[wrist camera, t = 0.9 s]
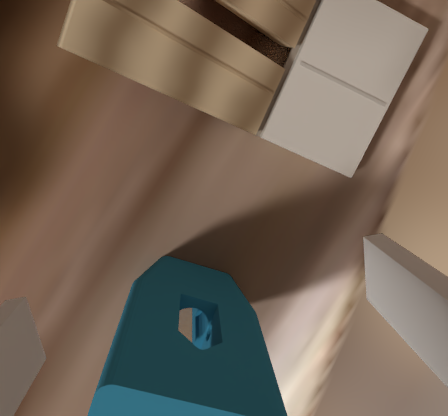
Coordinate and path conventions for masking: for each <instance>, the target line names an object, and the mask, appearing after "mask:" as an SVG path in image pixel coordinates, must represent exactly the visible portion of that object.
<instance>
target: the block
mask: <svg viewBox="0 0 448 416" xmlns="http://www.w3.org/2000/svg"><path fill="white" fill-rule="evenodd" d="M184 308H192V343H191V342H190V341H189V340H188V339H187V338H186V337H185V336H184V335H183V334H181V333H180V332H179V331H178V324H179V310H181V309H184ZM88 416H287V413H286V410H285V407H284V403H283V400H282V397H281V394H280V390H279V387H278V384H277V380H276V377H275V374H274V371H273V367H272V364H271V361H270V357H269V354H268V351H267V347H266V344H265V341H264V338H263V334H262V331H261V328H260V324H259V321H258V318H257V315H256V312H255V311H254V309H253V308H252V306H251V305H250V303H249V302H248V301H247V299H246V298H245V296H244V295H243V293H242V292H241V290H240V289H239V287H238V286H237V284H236V283H235V282H234V280H233V279H232V277H231V276H230V275H229V274H227V273H224V272H221V271H217V270H214V269H211V268H207V267H204V266H201V265H197V264H194V263H190V262H187V261H184V260H180V259H177V258H174V257H170V256H163V257H161V258H160V259H159V260H158V261H156V262H155V263H154V264H153V265H152V266H151V267H150V268H149V269H148V270H146V271H145V272H144V273H143V274H142V275H141V276H140V277H139V278H137V279H136V280H135V281H134V282H133V284H132V287H131V290H130V293H129V296H128V299H127V301H126V304H125V307H124V310H123V313H122V316H121V319H120V322H119V325H118V328H117V330H116V333H115V336H114V339H113V342H112V345H111V348H110V351H109V354H108V357H107V359H106V362H105V365H104V368H103V371H102V374H101V377H100V380H99V383H98V386H97V388H96V391H95V394H94V397H93V400H92V403H91V407H90V410H89V413H88Z"/></svg>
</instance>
